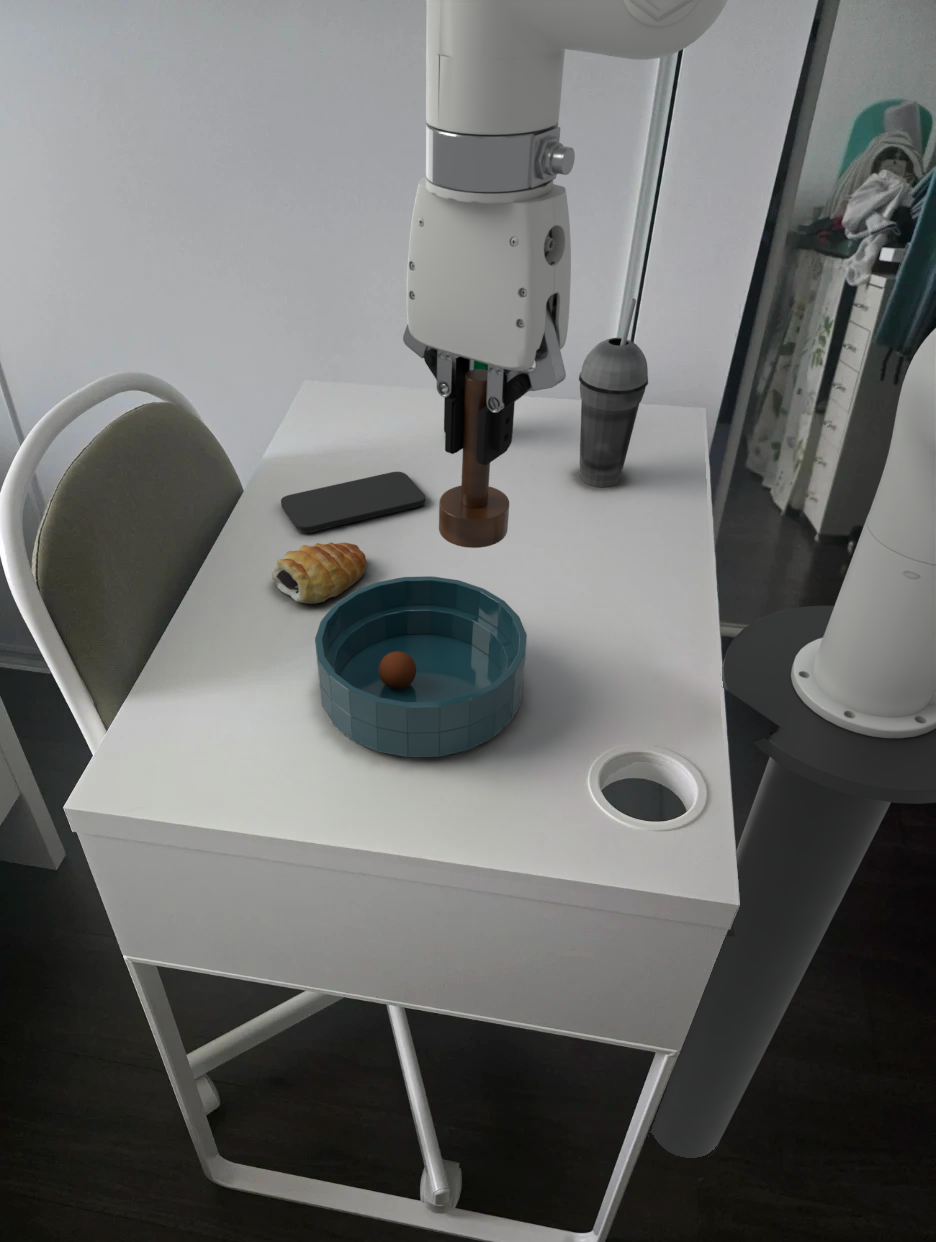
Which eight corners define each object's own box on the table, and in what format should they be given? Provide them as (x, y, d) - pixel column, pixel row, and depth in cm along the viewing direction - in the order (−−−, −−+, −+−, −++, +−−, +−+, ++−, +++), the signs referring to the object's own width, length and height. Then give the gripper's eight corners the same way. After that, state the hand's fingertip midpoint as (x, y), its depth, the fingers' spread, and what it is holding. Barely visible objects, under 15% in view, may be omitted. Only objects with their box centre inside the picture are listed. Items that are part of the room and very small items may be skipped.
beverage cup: (600, 455, 111) (625, 278, 97) (645, 480, 107) (678, 298, 93) (554, 474, 108) (572, 293, 95) (598, 500, 104) (624, 314, 90)
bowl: (524, 636, 86) (529, 582, 82) (516, 772, 74) (522, 716, 70) (340, 623, 88) (336, 570, 84) (302, 754, 76) (295, 698, 72)
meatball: (418, 673, 82) (418, 645, 80) (413, 698, 80) (413, 669, 77) (382, 671, 82) (380, 642, 80) (376, 695, 80) (375, 666, 78)
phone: (429, 499, 103) (299, 529, 99) (429, 505, 104) (300, 536, 99) (402, 469, 108) (277, 496, 104) (402, 476, 109) (278, 503, 104)
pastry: (341, 549, 98) (339, 517, 95) (383, 577, 94) (382, 545, 91) (267, 584, 93) (262, 552, 91) (307, 615, 89) (304, 582, 87)
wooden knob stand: (509, 513, 73) (520, 360, 65) (505, 550, 69) (517, 393, 61) (442, 509, 74) (445, 357, 66) (435, 545, 70) (437, 389, 62)
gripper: (644, 164, 53) (601, 463, 66) (419, 129, 60) (419, 404, 73) (577, 194, 49) (544, 508, 61) (344, 153, 56) (357, 440, 69)
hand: (476, 449), depth 67 cm, fingers closed on wooden knob stand
